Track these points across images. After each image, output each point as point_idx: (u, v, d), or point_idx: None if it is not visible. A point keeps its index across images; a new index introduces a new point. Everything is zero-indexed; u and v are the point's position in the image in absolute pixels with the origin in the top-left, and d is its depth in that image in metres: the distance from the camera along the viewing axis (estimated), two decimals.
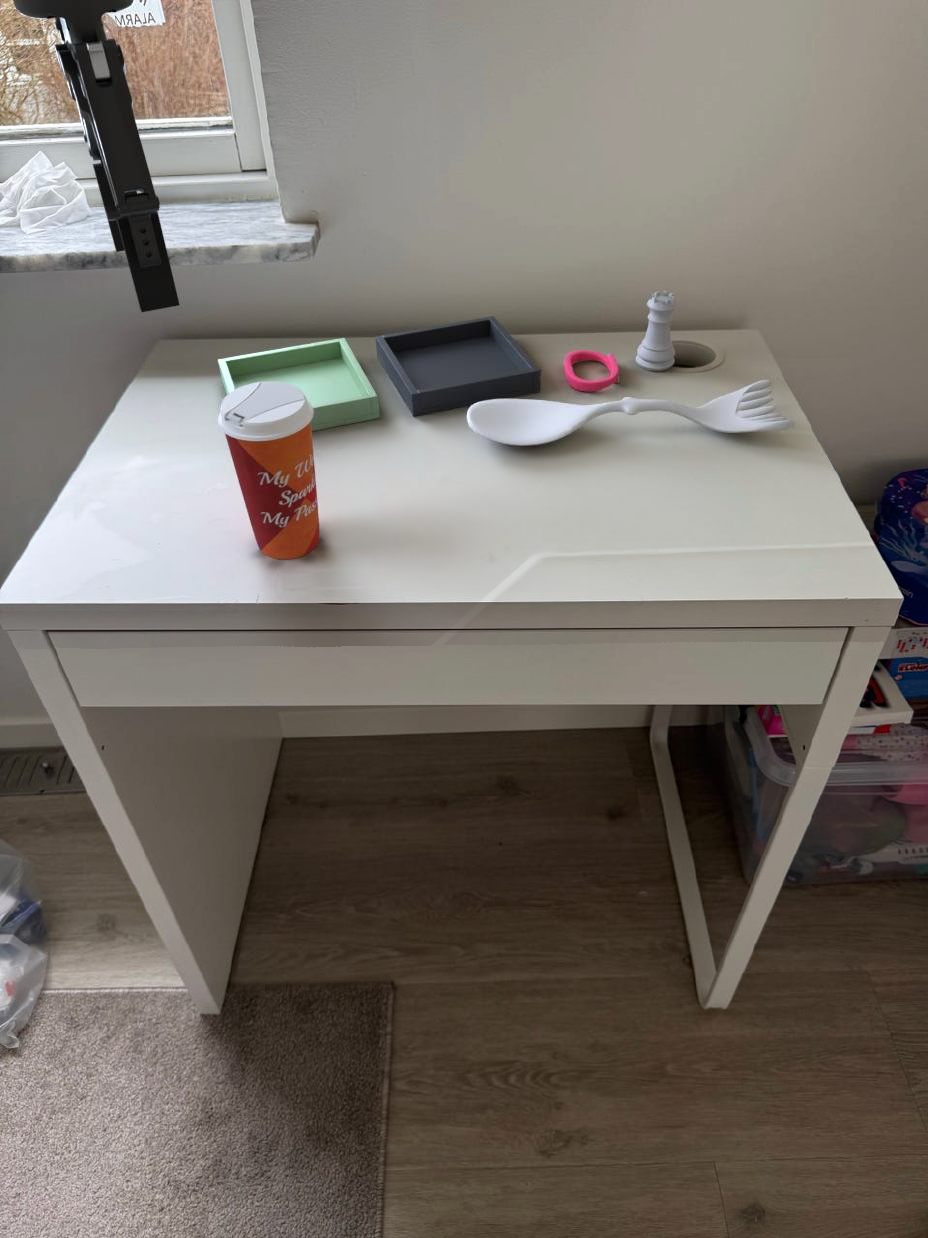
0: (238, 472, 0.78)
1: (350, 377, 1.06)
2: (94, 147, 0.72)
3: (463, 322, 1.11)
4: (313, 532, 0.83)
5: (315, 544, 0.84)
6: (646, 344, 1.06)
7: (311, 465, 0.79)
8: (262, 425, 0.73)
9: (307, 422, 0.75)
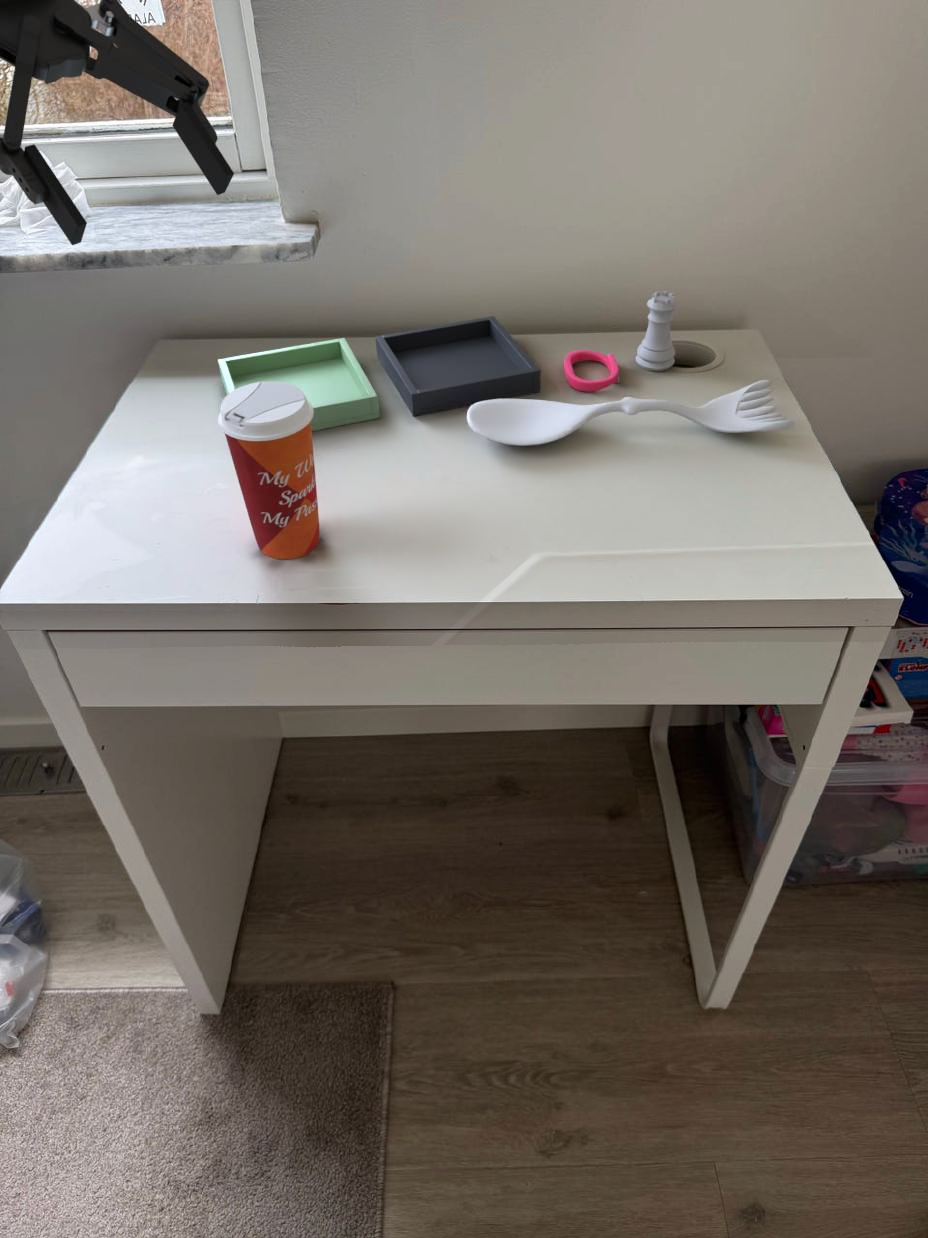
0: (238, 472, 0.78)
1: (350, 377, 1.06)
2: None
3: (463, 322, 1.11)
4: (313, 532, 0.83)
5: (315, 544, 0.84)
6: (646, 344, 1.06)
7: (311, 465, 0.79)
8: (262, 425, 0.73)
9: (307, 422, 0.75)
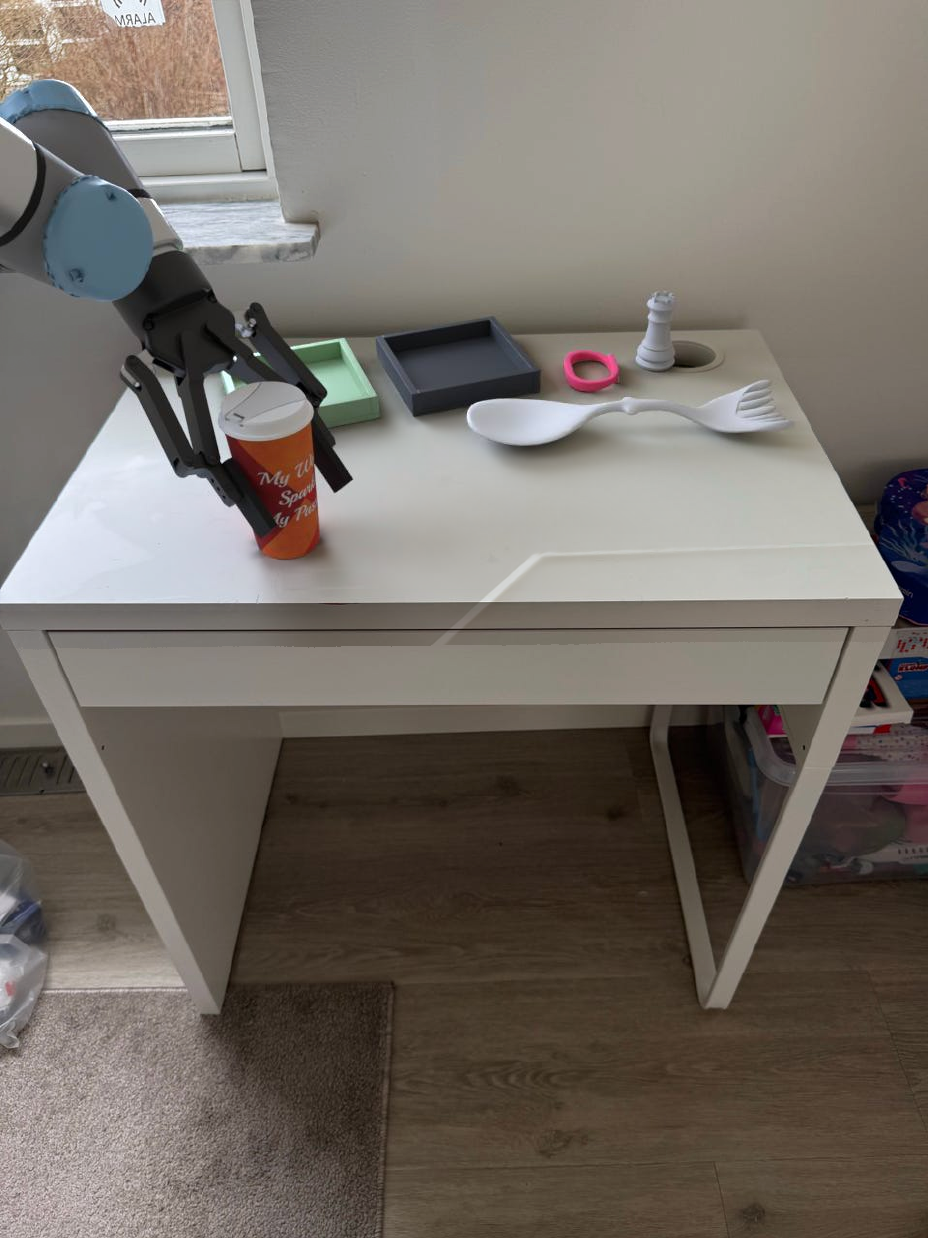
0: None
1: (350, 377, 1.06)
2: None
3: (463, 322, 1.11)
4: (313, 532, 0.83)
5: (315, 544, 0.84)
6: (646, 344, 1.06)
7: (311, 465, 0.79)
8: (262, 425, 0.73)
9: (307, 422, 0.75)
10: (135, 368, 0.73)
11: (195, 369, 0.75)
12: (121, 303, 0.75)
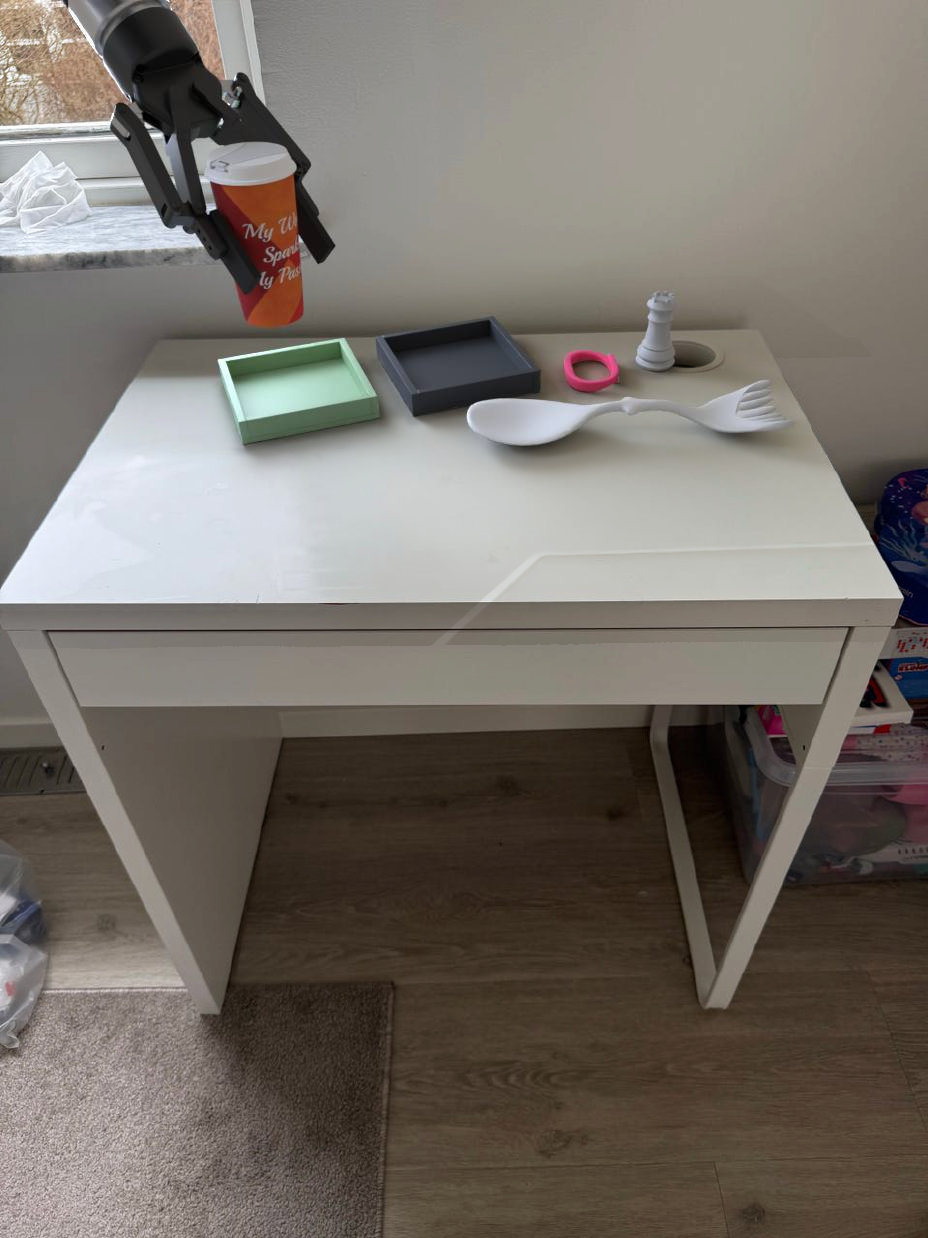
0: None
1: (350, 377, 1.06)
2: None
3: (463, 322, 1.11)
4: (297, 300, 0.86)
5: (299, 315, 0.87)
6: (646, 344, 1.06)
7: (294, 225, 0.82)
8: (246, 168, 0.76)
9: (290, 173, 0.78)
10: (124, 115, 0.76)
11: (182, 122, 0.79)
12: (111, 56, 0.78)
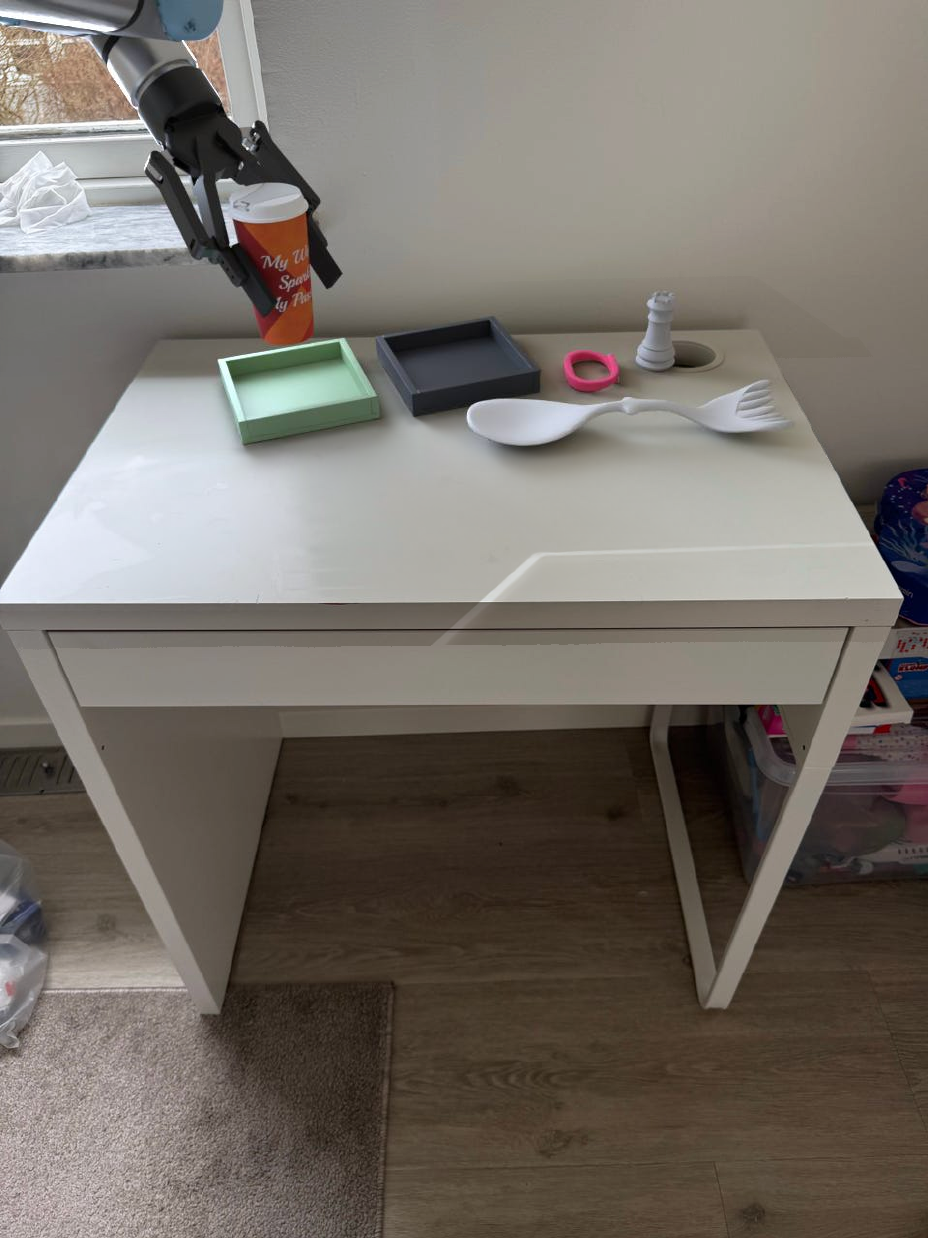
0: None
1: (350, 377, 1.06)
2: None
3: (463, 322, 1.11)
4: (308, 321, 0.97)
5: (310, 334, 0.98)
6: (646, 344, 1.06)
7: (306, 256, 0.93)
8: (265, 208, 0.87)
9: (303, 211, 0.89)
10: (158, 161, 0.87)
11: (208, 167, 0.89)
12: (146, 109, 0.89)
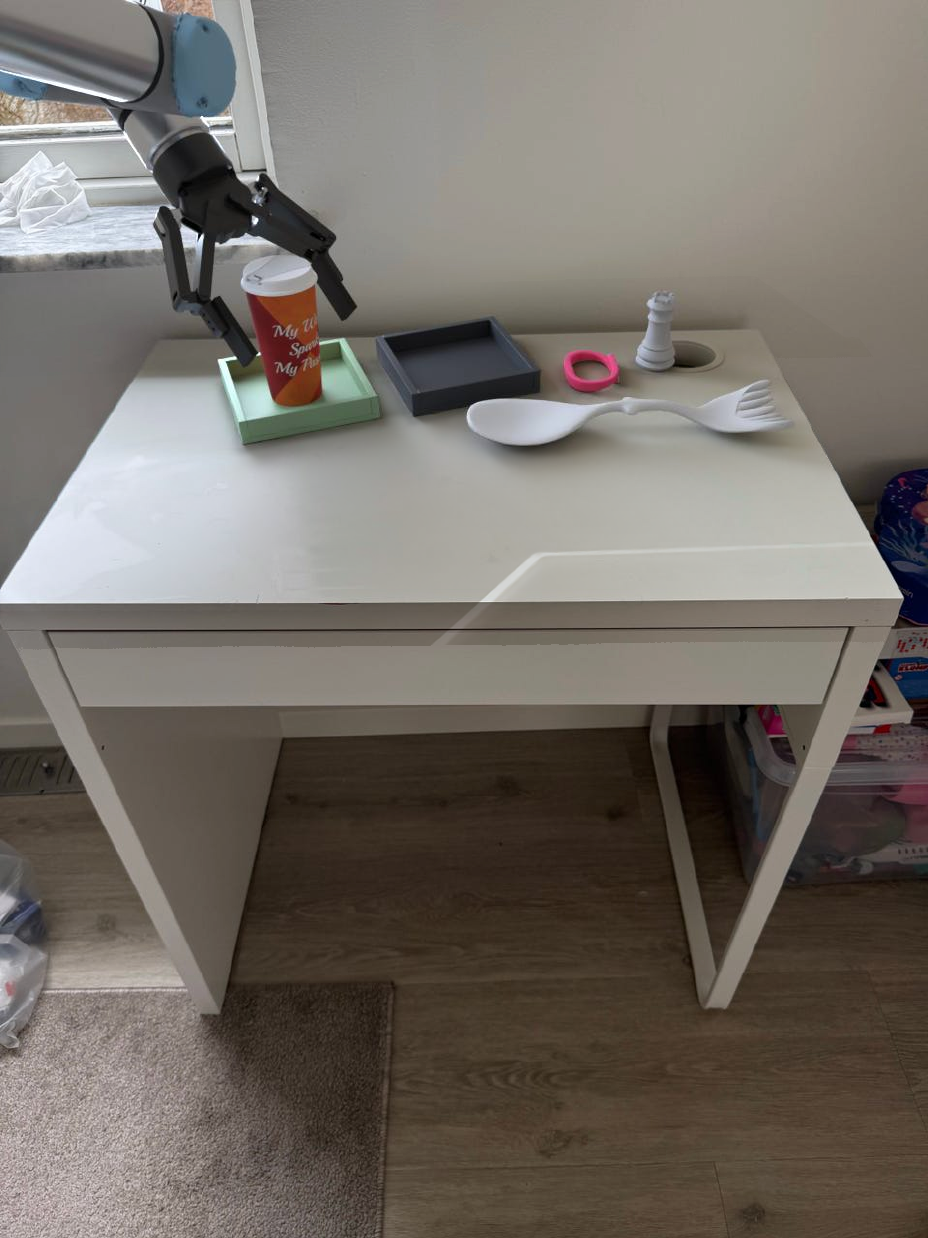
0: (256, 327, 0.96)
1: (350, 377, 1.06)
2: None
3: (463, 322, 1.11)
4: (317, 384, 1.01)
5: (318, 395, 1.02)
6: (646, 344, 1.06)
7: (315, 323, 0.97)
8: (277, 282, 0.92)
9: (312, 284, 0.94)
10: (164, 216, 0.91)
11: (212, 227, 0.93)
12: (160, 174, 0.93)
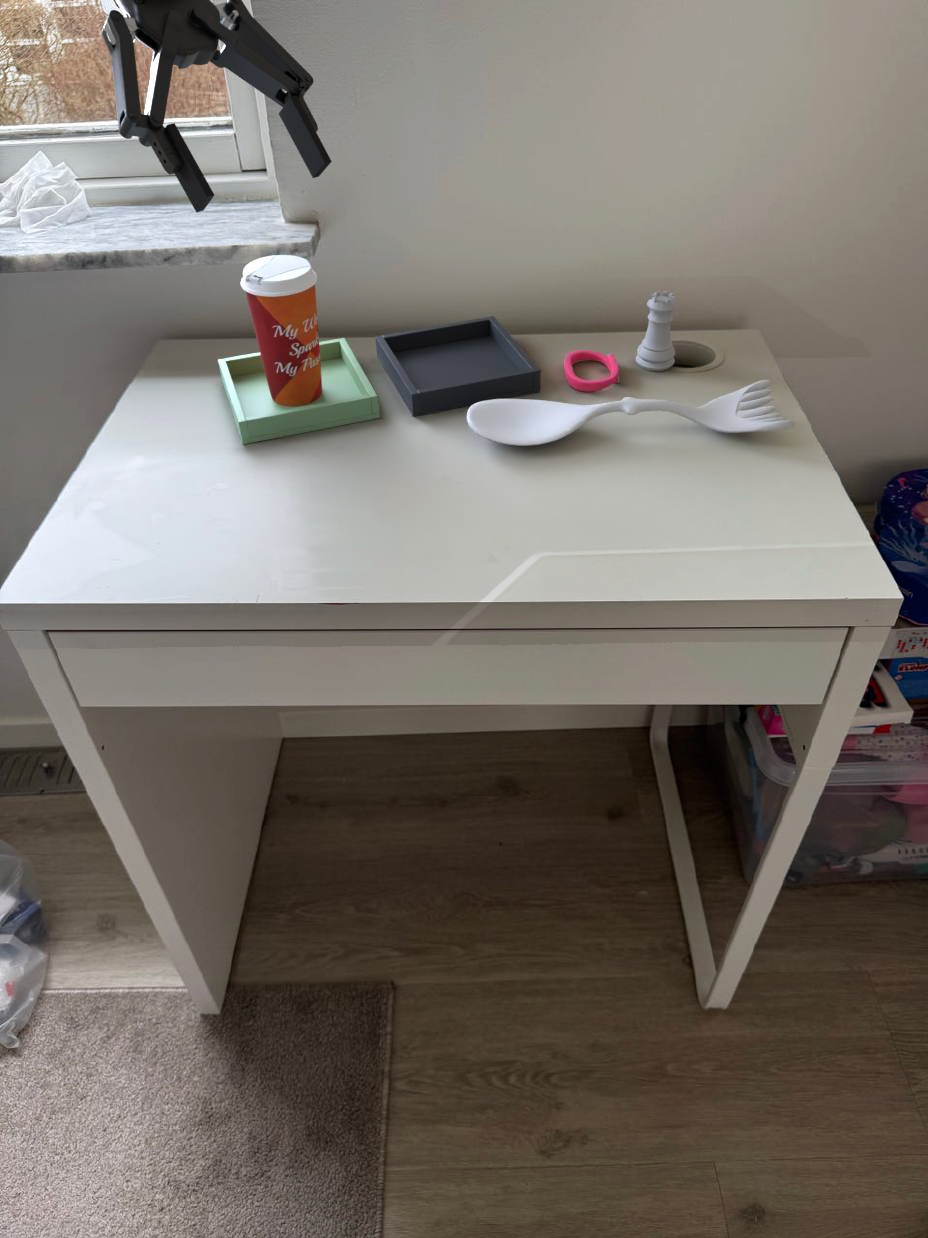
0: (256, 327, 0.96)
1: (350, 377, 1.06)
2: None
3: (463, 322, 1.11)
4: (317, 384, 1.01)
5: (318, 395, 1.02)
6: (646, 344, 1.06)
7: (315, 323, 0.97)
8: (277, 283, 0.92)
9: (312, 284, 0.94)
10: (116, 22, 0.79)
11: (170, 44, 0.81)
12: None
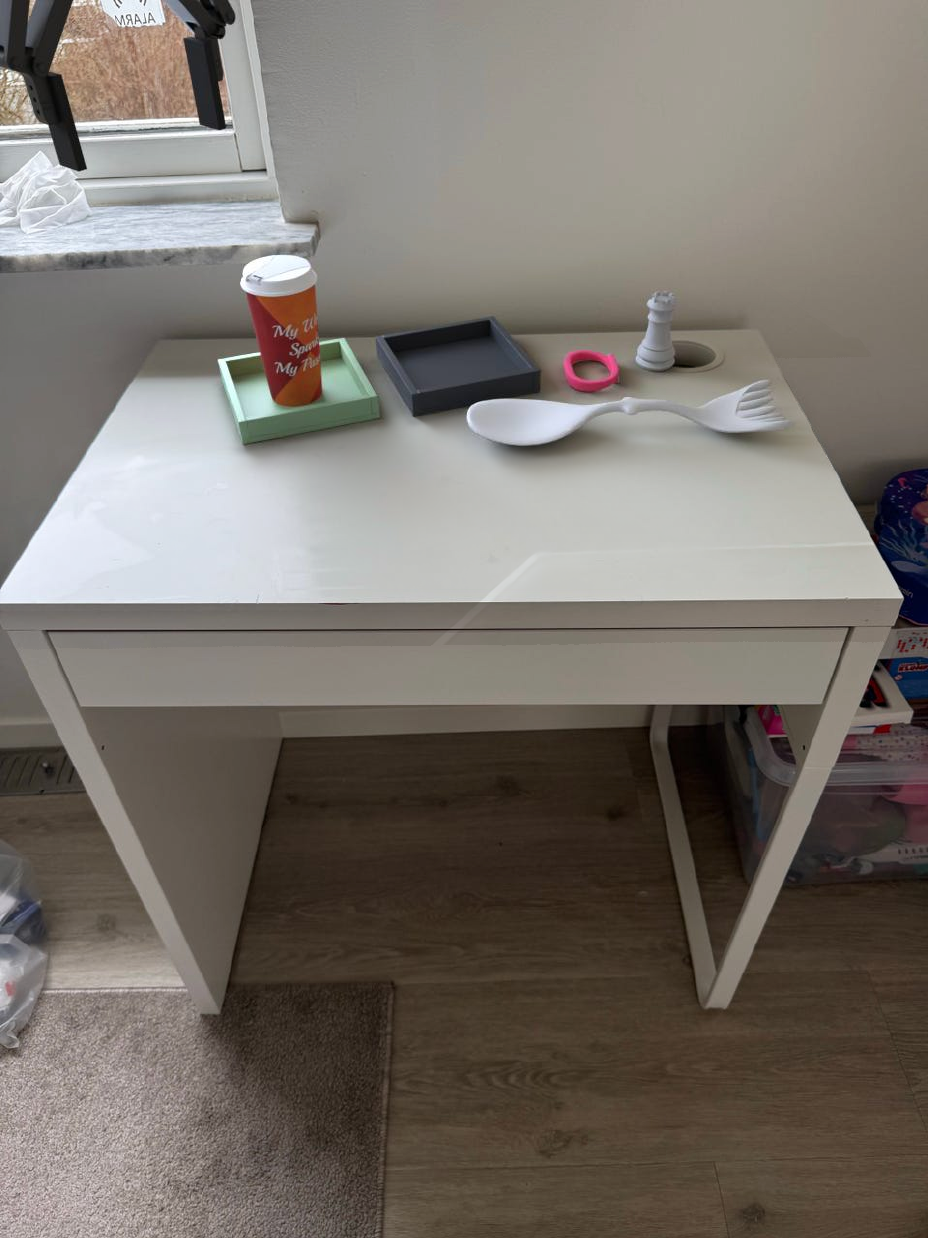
0: (256, 327, 0.96)
1: (350, 377, 1.06)
2: None
3: (463, 322, 1.11)
4: (317, 384, 1.01)
5: (318, 395, 1.02)
6: (646, 344, 1.06)
7: (315, 323, 0.97)
8: (276, 283, 0.92)
9: (312, 284, 0.94)
10: None
11: None
12: None
